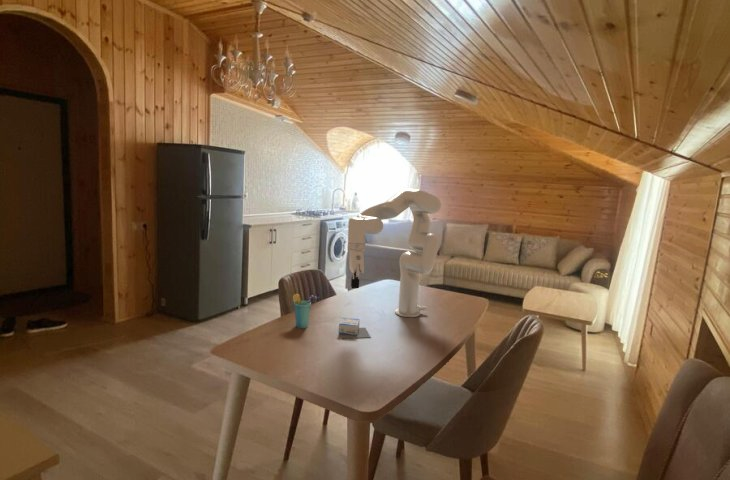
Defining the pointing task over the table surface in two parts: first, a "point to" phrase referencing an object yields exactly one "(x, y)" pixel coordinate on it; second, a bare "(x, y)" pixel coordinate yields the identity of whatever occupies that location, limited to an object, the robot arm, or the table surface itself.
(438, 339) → the table surface
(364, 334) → the mat
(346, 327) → the medicine box
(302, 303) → the cup
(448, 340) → the table surface
